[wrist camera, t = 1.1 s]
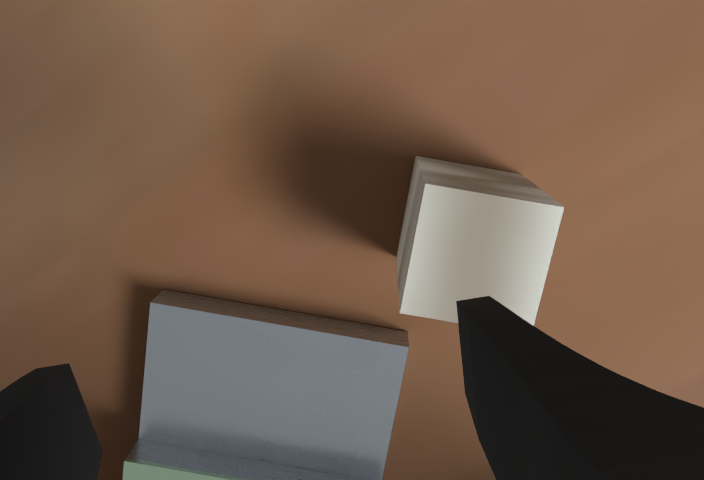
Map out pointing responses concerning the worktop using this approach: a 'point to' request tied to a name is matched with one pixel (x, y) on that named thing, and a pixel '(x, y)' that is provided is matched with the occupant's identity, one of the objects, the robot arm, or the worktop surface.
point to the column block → (473, 240)
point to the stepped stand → (263, 394)
